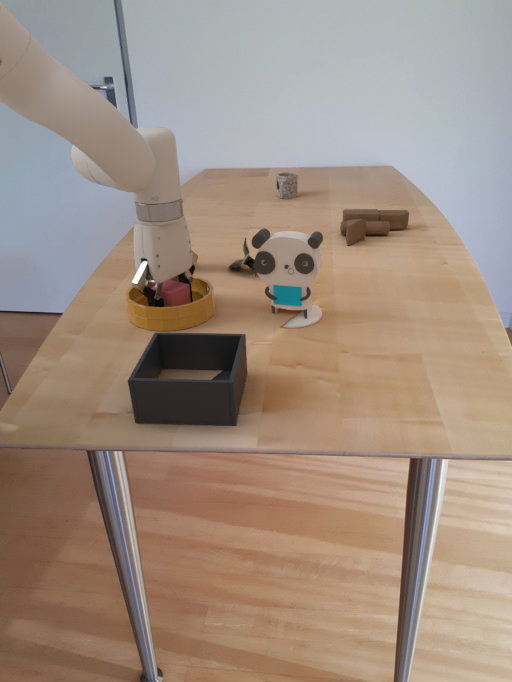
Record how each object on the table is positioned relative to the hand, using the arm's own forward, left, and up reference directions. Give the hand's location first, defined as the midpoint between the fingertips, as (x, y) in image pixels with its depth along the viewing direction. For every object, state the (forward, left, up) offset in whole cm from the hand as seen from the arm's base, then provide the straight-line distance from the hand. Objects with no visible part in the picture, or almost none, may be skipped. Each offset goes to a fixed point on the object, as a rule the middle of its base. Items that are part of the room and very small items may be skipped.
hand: (172, 309), depth 98 cm
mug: (+88, +27, -2) cm, 92 cm away
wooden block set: (+63, -14, -2) cm, 65 cm away
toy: (0, 0, -1) cm, 1 cm away
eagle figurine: (+26, +1, -2) cm, 26 cm away
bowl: (0, 0, -1) cm, 1 cm away
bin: (-19, -20, -1) cm, 28 cm away
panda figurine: (+11, -18, -2) cm, 21 cm away
